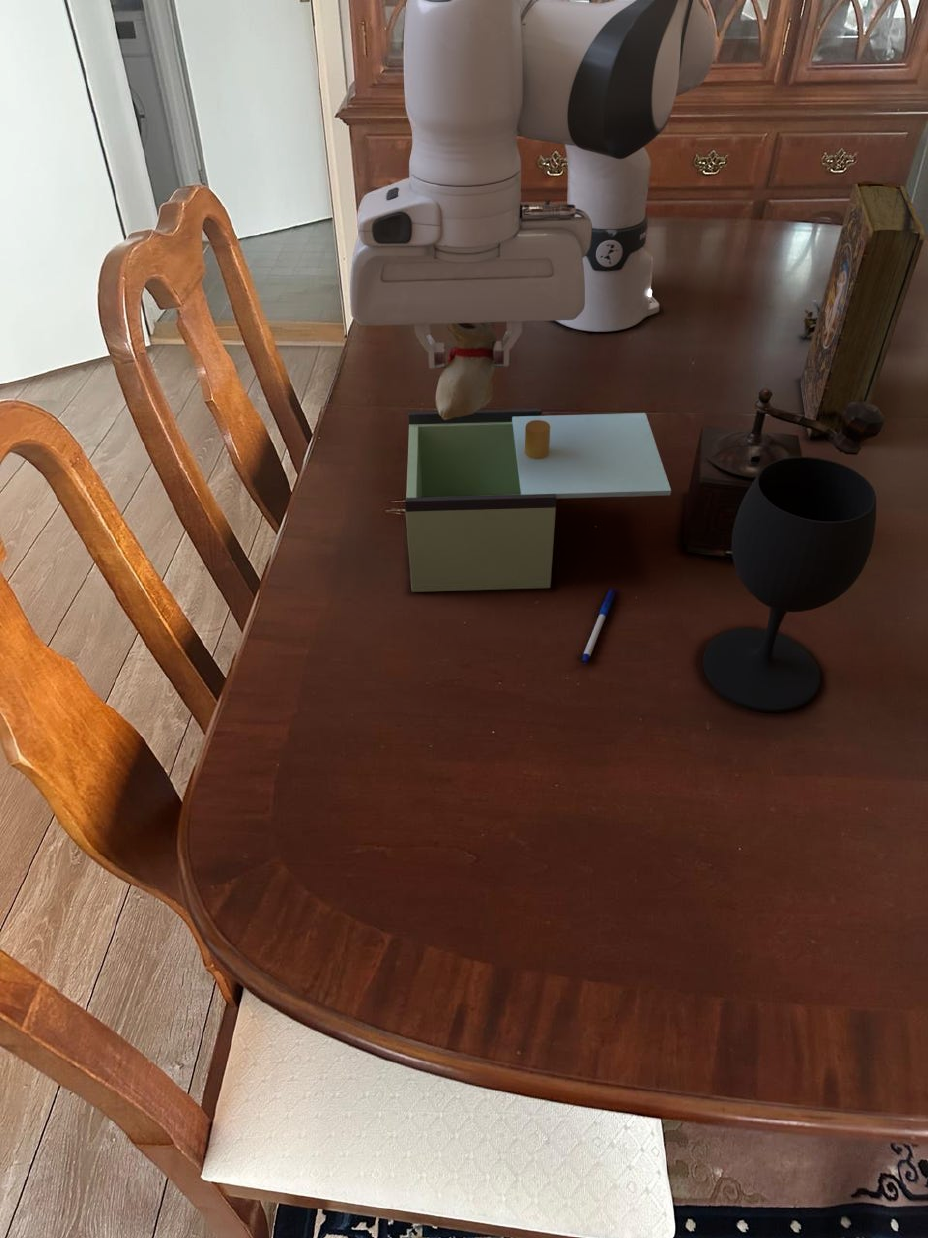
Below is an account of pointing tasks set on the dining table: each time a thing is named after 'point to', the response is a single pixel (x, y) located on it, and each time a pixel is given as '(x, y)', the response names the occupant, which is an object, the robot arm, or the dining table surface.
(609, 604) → the ballpoint pen
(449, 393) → the chocolate bunny
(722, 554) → the vintage coffee grinder
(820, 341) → the book
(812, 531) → the wine glass
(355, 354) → the dining table surface
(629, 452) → the light blue sliding lid
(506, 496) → the case
